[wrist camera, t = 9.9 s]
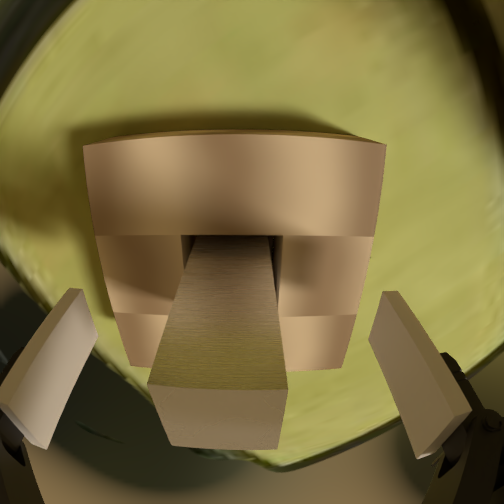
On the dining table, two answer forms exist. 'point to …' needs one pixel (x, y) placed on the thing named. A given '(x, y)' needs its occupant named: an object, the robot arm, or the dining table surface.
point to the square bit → (222, 350)
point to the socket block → (238, 225)
